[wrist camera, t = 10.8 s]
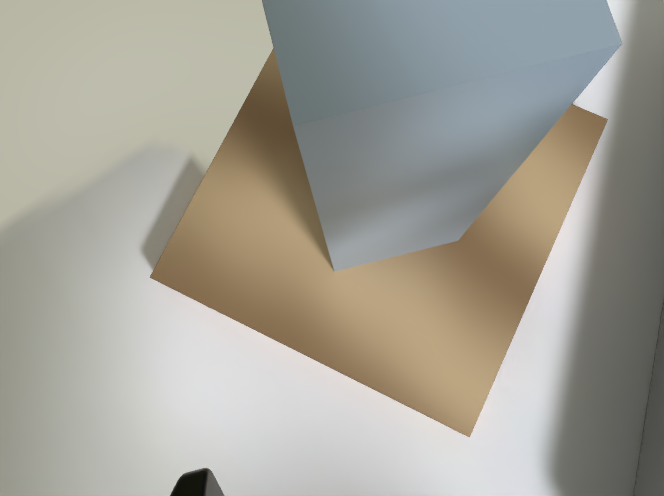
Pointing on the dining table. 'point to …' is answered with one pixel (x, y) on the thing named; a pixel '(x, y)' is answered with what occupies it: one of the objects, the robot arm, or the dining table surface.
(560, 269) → the dining table surface
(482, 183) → the plug
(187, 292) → the cork mat
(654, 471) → the gray slotted board
